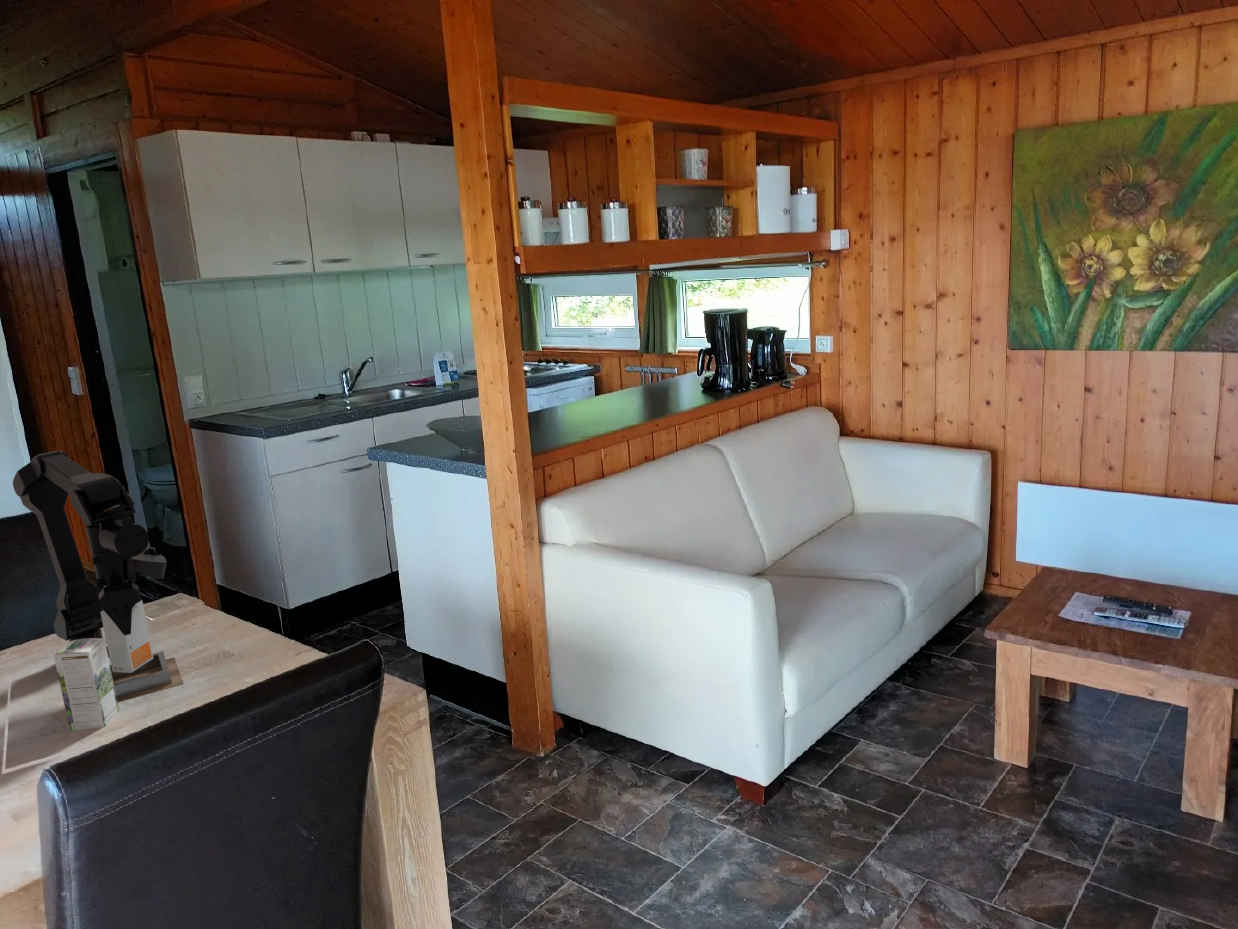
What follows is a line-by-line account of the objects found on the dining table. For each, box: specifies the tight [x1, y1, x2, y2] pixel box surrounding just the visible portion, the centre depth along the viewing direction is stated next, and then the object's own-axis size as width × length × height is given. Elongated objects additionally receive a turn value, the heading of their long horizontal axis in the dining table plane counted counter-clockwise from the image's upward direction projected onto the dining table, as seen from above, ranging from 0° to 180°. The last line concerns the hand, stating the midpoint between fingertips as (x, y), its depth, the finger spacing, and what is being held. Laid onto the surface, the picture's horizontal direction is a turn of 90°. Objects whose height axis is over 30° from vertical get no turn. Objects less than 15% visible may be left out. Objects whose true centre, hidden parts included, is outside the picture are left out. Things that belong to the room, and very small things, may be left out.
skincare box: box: [100, 599, 154, 673], centre depth 168 cm, size 6×4×12 cm
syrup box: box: [53, 637, 120, 732], centre depth 155 cm, size 6×6×14 cm
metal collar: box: [110, 650, 172, 699], centre depth 170 cm, size 10×10×2 cm
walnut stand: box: [113, 657, 184, 703], centre depth 170 cm, size 14×14×1 cm
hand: (126, 628), depth 168 cm, fingers closed on skincare box, 7 cm apart
